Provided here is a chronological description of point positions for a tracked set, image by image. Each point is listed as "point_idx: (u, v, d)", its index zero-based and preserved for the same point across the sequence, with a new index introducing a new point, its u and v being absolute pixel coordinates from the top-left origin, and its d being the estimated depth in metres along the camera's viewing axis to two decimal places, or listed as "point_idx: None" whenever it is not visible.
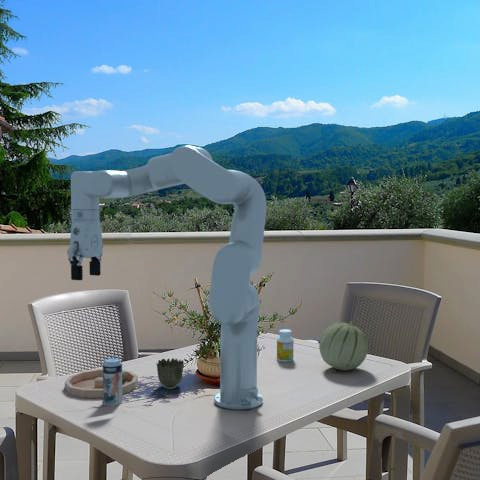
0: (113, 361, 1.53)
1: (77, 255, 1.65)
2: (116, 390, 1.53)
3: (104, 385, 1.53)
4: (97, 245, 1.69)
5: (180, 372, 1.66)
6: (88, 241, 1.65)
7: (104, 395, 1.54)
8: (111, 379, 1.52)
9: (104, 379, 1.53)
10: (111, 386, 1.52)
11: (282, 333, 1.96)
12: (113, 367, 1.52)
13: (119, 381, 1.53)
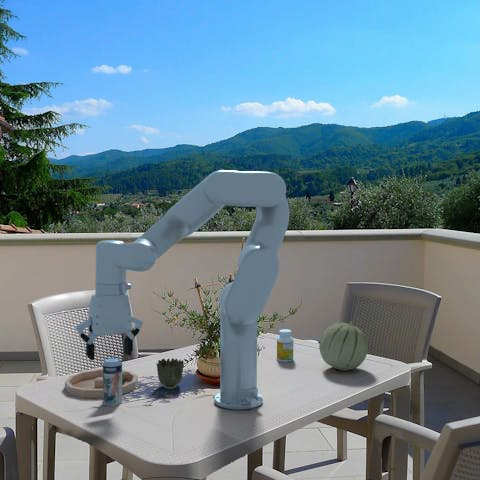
0: (113, 361, 1.53)
1: None
2: (116, 390, 1.53)
3: (104, 385, 1.53)
4: None
5: (180, 372, 1.66)
6: None
7: (104, 395, 1.54)
8: (111, 379, 1.52)
9: (104, 379, 1.53)
10: (111, 386, 1.52)
11: (282, 333, 1.96)
12: (113, 367, 1.52)
13: (119, 381, 1.53)
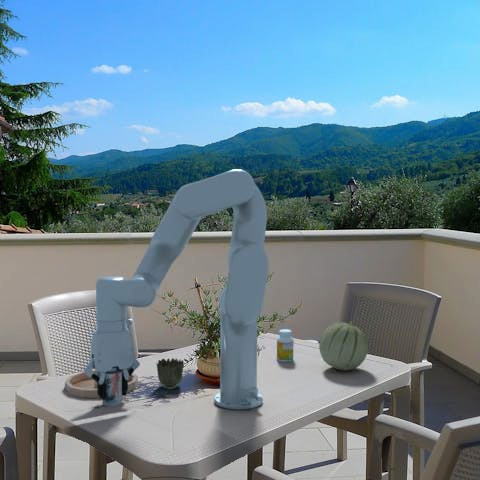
0: None
1: None
2: (116, 390, 1.53)
3: None
4: None
5: (180, 372, 1.66)
6: None
7: None
8: (111, 379, 1.52)
9: (104, 379, 1.53)
10: (111, 386, 1.52)
11: (282, 333, 1.96)
12: (113, 367, 1.52)
13: (119, 381, 1.53)
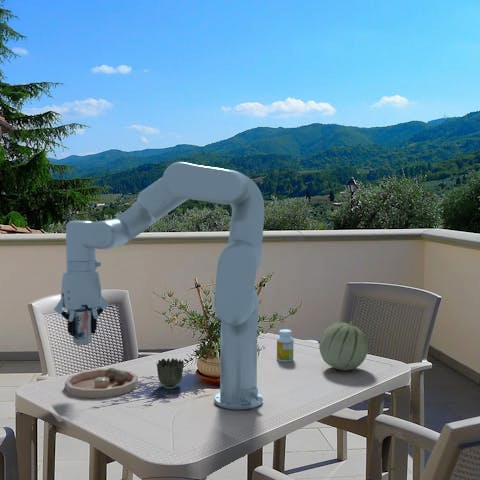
0: None
1: None
2: (85, 327, 1.62)
3: None
4: None
5: (180, 372, 1.66)
6: None
7: None
8: (80, 317, 1.61)
9: (74, 317, 1.62)
10: (80, 323, 1.61)
11: (282, 333, 1.96)
12: (82, 305, 1.61)
13: (88, 319, 1.62)
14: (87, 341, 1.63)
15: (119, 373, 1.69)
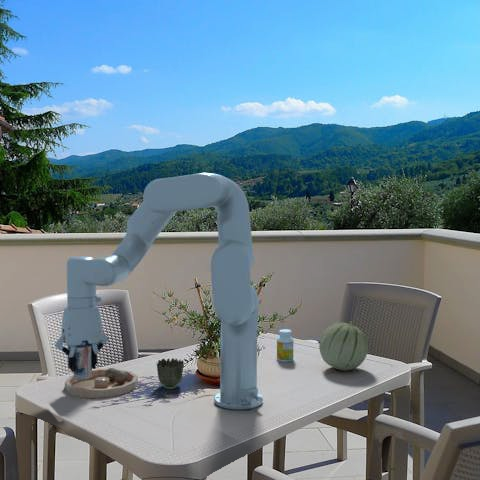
0: None
1: None
2: (85, 363, 1.63)
3: None
4: None
5: (180, 372, 1.66)
6: None
7: None
8: (81, 352, 1.62)
9: (74, 352, 1.63)
10: (81, 359, 1.62)
11: (282, 333, 1.96)
12: (82, 341, 1.62)
13: (88, 354, 1.63)
14: (87, 376, 1.63)
15: (119, 373, 1.69)
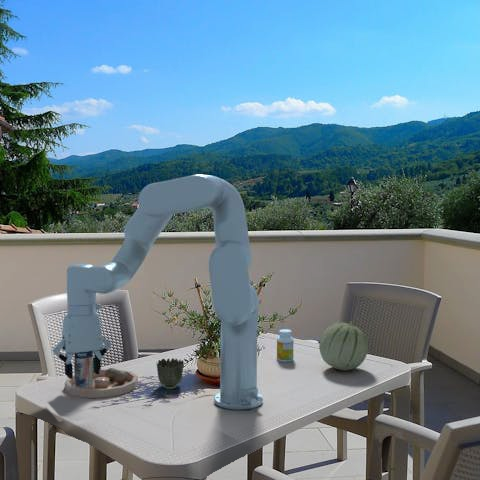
0: None
1: None
2: (87, 374, 1.63)
3: (75, 369, 1.63)
4: None
5: (180, 372, 1.66)
6: None
7: (75, 379, 1.64)
8: (82, 363, 1.62)
9: (75, 364, 1.63)
10: (82, 370, 1.62)
11: (282, 333, 1.96)
12: (84, 352, 1.62)
13: (89, 365, 1.63)
14: (88, 387, 1.64)
15: (119, 373, 1.69)
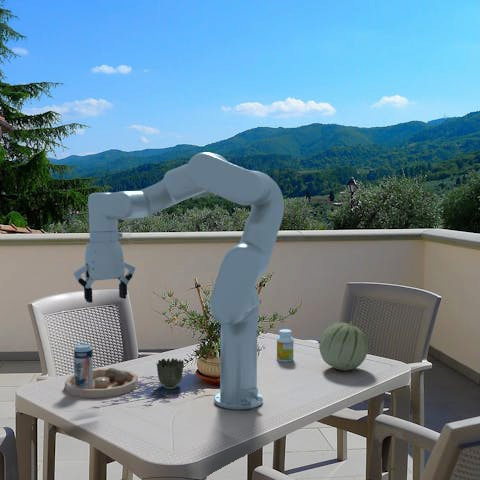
0: (84, 347, 1.63)
1: None
2: (86, 374, 1.63)
3: (75, 369, 1.63)
4: None
5: (180, 372, 1.66)
6: None
7: (75, 379, 1.64)
8: (82, 363, 1.62)
9: (75, 364, 1.63)
10: (82, 370, 1.62)
11: (282, 333, 1.96)
12: (83, 352, 1.62)
13: (89, 365, 1.63)
14: (88, 387, 1.64)
15: (119, 373, 1.69)
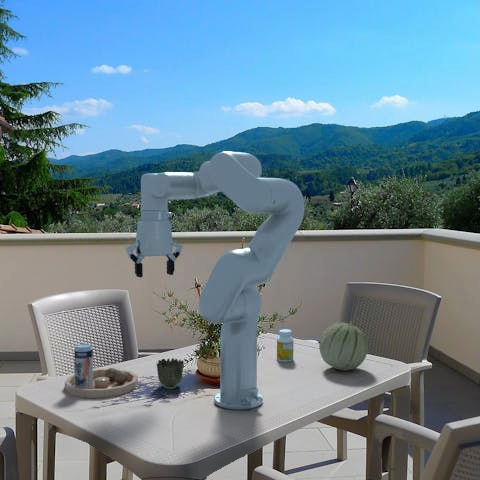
0: (84, 347, 1.63)
1: None
2: (87, 374, 1.63)
3: (75, 369, 1.63)
4: None
5: (180, 372, 1.66)
6: None
7: (75, 378, 1.64)
8: (82, 363, 1.62)
9: (75, 363, 1.63)
10: (82, 370, 1.62)
11: (282, 333, 1.96)
12: (84, 352, 1.62)
13: (90, 365, 1.64)
14: (89, 387, 1.64)
15: (119, 373, 1.69)
